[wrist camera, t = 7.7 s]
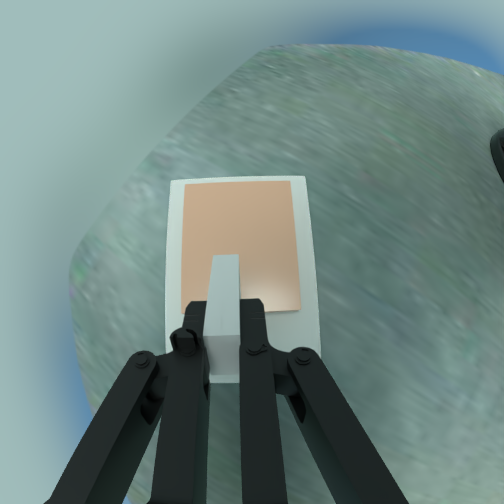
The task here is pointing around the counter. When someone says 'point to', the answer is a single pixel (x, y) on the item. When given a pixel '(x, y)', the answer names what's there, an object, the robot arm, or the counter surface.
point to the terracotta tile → (241, 241)
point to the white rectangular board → (278, 324)
